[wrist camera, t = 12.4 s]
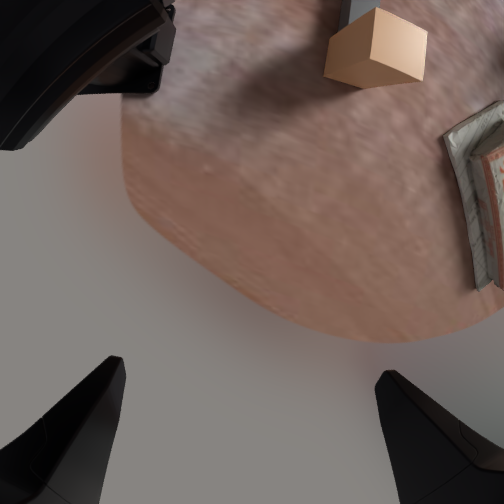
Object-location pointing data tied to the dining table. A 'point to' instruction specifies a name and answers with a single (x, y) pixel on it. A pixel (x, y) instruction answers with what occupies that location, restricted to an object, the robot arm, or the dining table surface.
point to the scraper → (374, 47)
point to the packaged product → (482, 188)
